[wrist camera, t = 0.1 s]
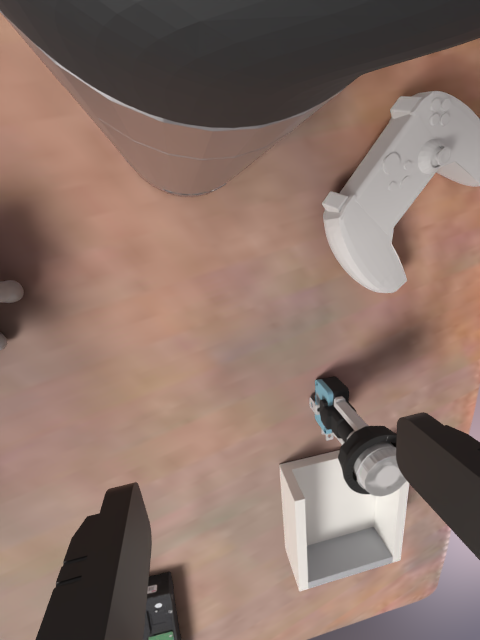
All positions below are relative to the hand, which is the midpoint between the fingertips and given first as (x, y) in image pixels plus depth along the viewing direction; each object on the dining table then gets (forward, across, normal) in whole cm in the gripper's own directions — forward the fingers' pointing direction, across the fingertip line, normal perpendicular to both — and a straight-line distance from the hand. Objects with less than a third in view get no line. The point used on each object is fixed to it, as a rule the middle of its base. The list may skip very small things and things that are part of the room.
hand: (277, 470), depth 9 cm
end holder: (+18, -10, +24) cm, 32 cm away
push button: (+18, -10, +11) cm, 23 cm away
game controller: (+18, -16, -8) cm, 25 cm away
